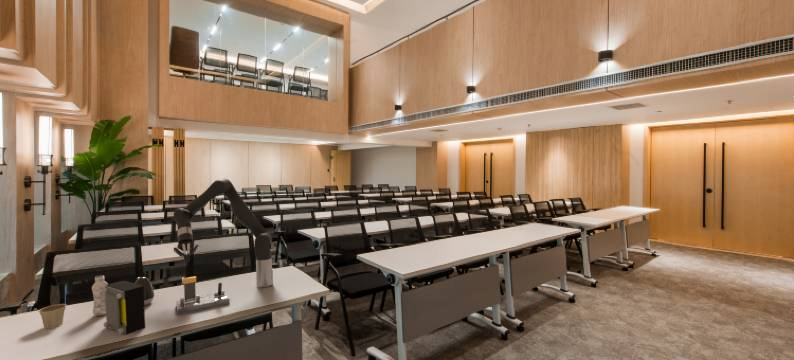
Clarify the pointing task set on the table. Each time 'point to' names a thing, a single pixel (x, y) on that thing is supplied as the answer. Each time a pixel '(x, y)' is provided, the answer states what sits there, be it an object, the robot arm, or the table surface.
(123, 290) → the electrical component
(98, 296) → the plastic bottle
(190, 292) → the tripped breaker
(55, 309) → the flower pot
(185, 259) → the robot arm
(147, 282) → the dark grey ridged ovoid
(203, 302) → the grey lever switch
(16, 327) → the table surface
